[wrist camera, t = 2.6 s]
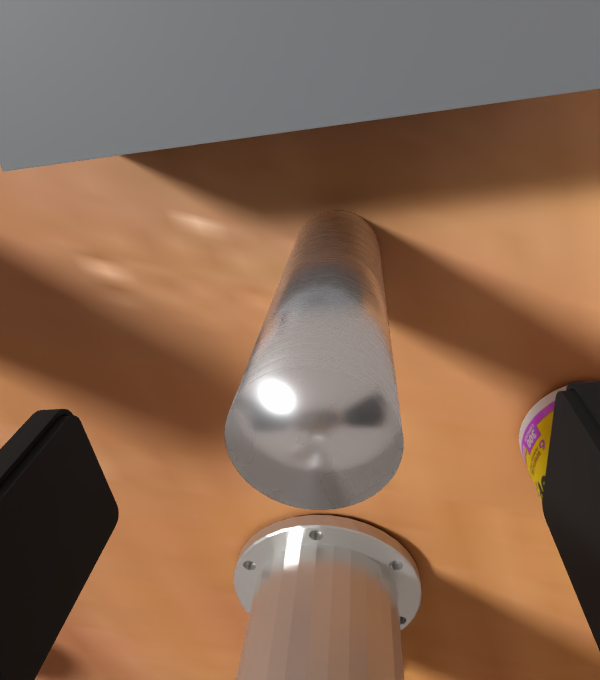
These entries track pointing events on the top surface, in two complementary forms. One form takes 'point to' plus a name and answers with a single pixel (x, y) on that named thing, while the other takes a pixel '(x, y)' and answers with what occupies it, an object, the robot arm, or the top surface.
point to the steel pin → (321, 376)
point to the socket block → (268, 67)
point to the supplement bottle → (538, 438)
